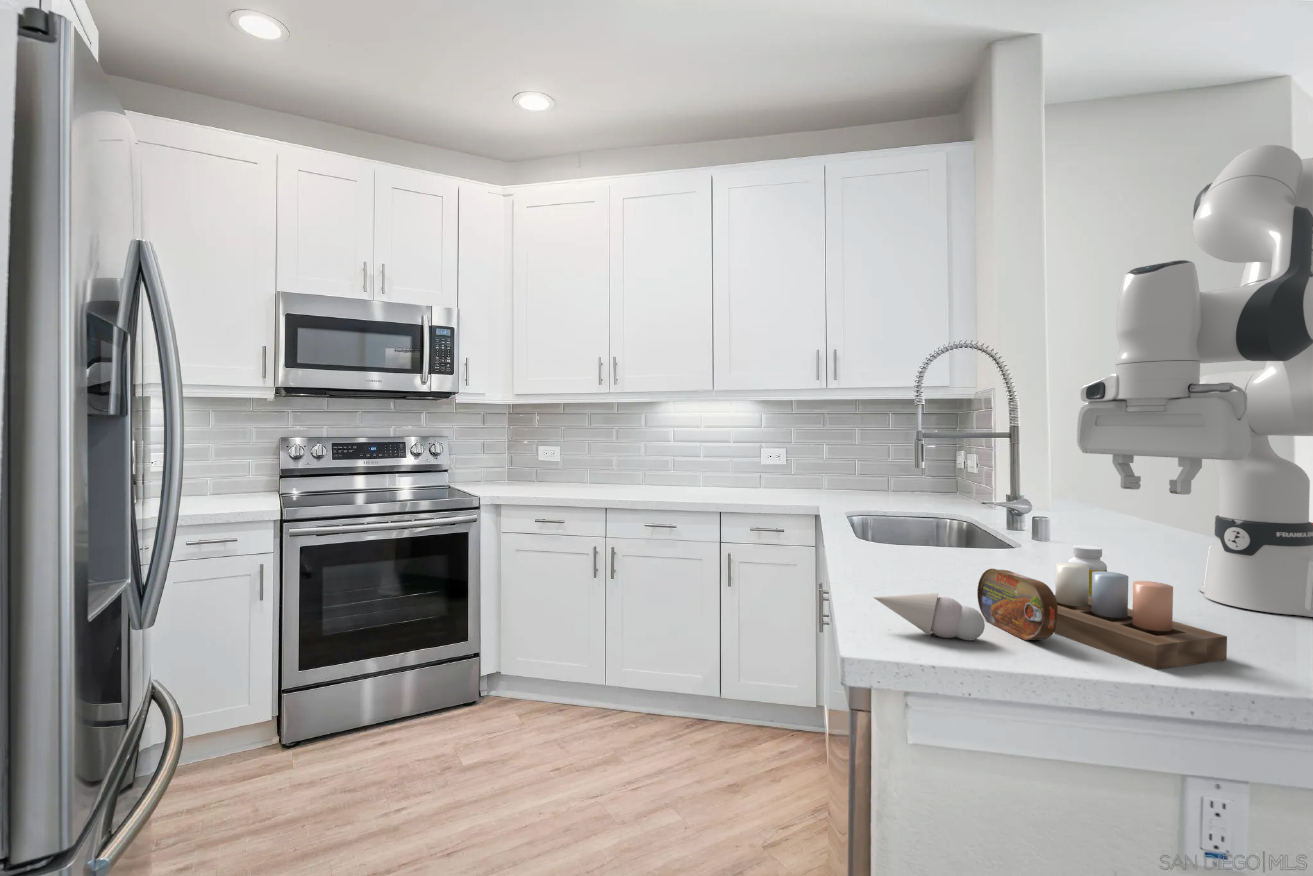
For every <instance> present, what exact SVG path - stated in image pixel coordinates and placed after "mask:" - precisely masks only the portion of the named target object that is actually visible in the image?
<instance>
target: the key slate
mask: <svg viewBox="0 0 1313 876" xmlns="http://www.w3.org/2000/svg"><path fill="white" fill-rule="evenodd" d="M1128 608H1129V576H1128V575H1126V574H1124V573H1120V572H1114V571H1107V572H1105V571H1096V572H1092V612H1093V613H1095V614H1097V615H1101V616H1106V617H1113V618H1125V617H1128Z"/></svg>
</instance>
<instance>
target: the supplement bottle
mask: <svg viewBox="0 0 1313 876" xmlns="http://www.w3.org/2000/svg"><path fill="white" fill-rule="evenodd" d="M1072 548H1073V549H1072V554H1073V556H1074V557H1072V558H1070V559H1069V560H1067V561H1068V562H1067V563H1075V564H1081V565H1086V566H1088V567H1089V597H1090V598H1092V572H1096V571H1105V572H1108V569H1107V567H1108V566H1107V564H1106V562H1105V561H1102V560H1101V558H1102V557H1103V548H1102V547H1100V546H1095V545H1088V544H1077V545H1076V544H1075V545H1073V546H1072Z"/></svg>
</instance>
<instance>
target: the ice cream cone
mask: <svg viewBox="0 0 1313 876" xmlns="http://www.w3.org/2000/svg"><path fill="white" fill-rule="evenodd" d="M873 599H874V600H876V601H877V602H879V603H881V604H882V605H883V606H885V607H886V608H888V609H889V610H891V611H893V612H894V613H895V614H897V615H898V616H900V617H901V618H902V619H904V620H906V621H907V622H908V623H910V624H911V625H913V626H914V627H915V628H918V629H919V630H920V631H922V632H923V633H925V634H926V635H928V636H931V633H932V634H934V635H935V636H938V637H940V638H944V639H952V638H955V637H957V638H959V639H961V640H963V641H973V640H977V639H978V638H980V637H981V636H982V634H983V633H984V631H985V629H986V628H985V625H986V624H985V618H984V616H983V615H982V613H980V611H978V610H977V609H975V608H973V607H971V606H967V605H964V606H963V605H962V604H961V603H960V602H958V601H957V600H956V599H954V598H952V597H947V596H939V592H933V593H932V592H931V593H919V594H905V595H904V594H903V595H902V594H901V595H889V596H876V597H875V596H874V597H873Z"/></svg>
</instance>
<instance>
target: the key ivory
mask: <svg viewBox="0 0 1313 876" xmlns="http://www.w3.org/2000/svg"><path fill="white" fill-rule="evenodd" d="M1054 595H1055V598H1056V601H1057V602H1058V603H1061V604H1065V605H1071V606H1087V605H1089V567H1088V566H1086V565H1081V564H1075V563H1068V562H1057V563H1055V593H1054Z"/></svg>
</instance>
